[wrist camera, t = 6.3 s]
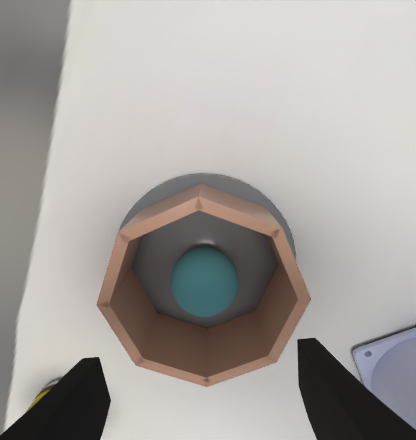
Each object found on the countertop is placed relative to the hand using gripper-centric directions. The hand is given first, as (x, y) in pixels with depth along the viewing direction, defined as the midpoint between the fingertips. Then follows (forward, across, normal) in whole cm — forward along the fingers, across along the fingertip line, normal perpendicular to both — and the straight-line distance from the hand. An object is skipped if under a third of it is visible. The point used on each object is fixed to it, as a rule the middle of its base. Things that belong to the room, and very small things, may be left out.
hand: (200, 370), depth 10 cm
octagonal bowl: (+9, 0, 0) cm, 9 cm away
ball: (+7, 0, 0) cm, 7 cm away
